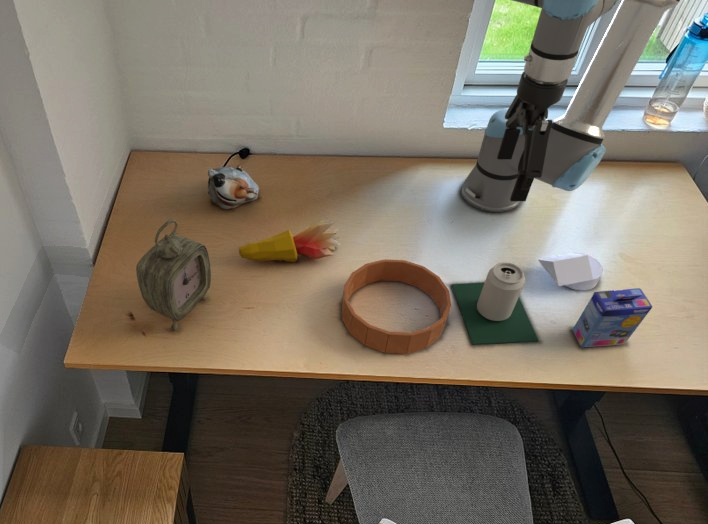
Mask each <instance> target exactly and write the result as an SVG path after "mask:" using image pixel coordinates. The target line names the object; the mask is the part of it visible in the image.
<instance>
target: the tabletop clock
mask: <svg viewBox="0 0 708 524" xmlns="http://www.w3.org/2000/svg"><path fill="white" fill-rule="evenodd" d="M173 223H174V228H173V230H172V231H171V232H170V234H169V233H168V234H165V235H164V237H162V238H161V239H160V240H159V237H160V235H161V233H162V232H163V231H164V229H165V228H167V227H168V226H169V225H170V224H173ZM177 229H178V222H177V220H176V219H168V220H167V221H165V222H164V223H163V224H162V225H161V226H160V227H159V228H158V230H157V231H156V234H155V237H154V245H153V246H152V247H150V249H149V250H147V252H146V253H145V254H144V255H143V256H142V257H141V258H140V259H139V260H138V262H137V264H136V267H135V268H136V270H135V273H136V279H137V284H138V289H139V291H140V294H141V298H142V299H143V301H144V302H145V304H146V306H147V308H149V309H150V310H151V311H153V312H156V313H157V314H160V315H162V316H164V317H166V318H168V319H169V320H171V321H172V324H171V327H170V329H171V330H172V331H173V332H175V331H178V330H179V325H178V323H177V322H179V321H181V320H183V319H184V318H185V317H186V316H188V314H189V313H190V312H191V311H192V310H193V309H194V308H195V307H196V306H197V305H198V304H199V302H200V301H205V300H207V295H206V294H207V292H208V291H209V289H210V287H211V281H212V279H211V278H212V271H211V261H210V257H209V251H208V248H207V247H206V245H205V244H202V243H200V242H198V241H196V240H192V239H190V238H188V237H185V236H183V235H180V234H178V233H177ZM158 240H159V241H158Z"/></svg>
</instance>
